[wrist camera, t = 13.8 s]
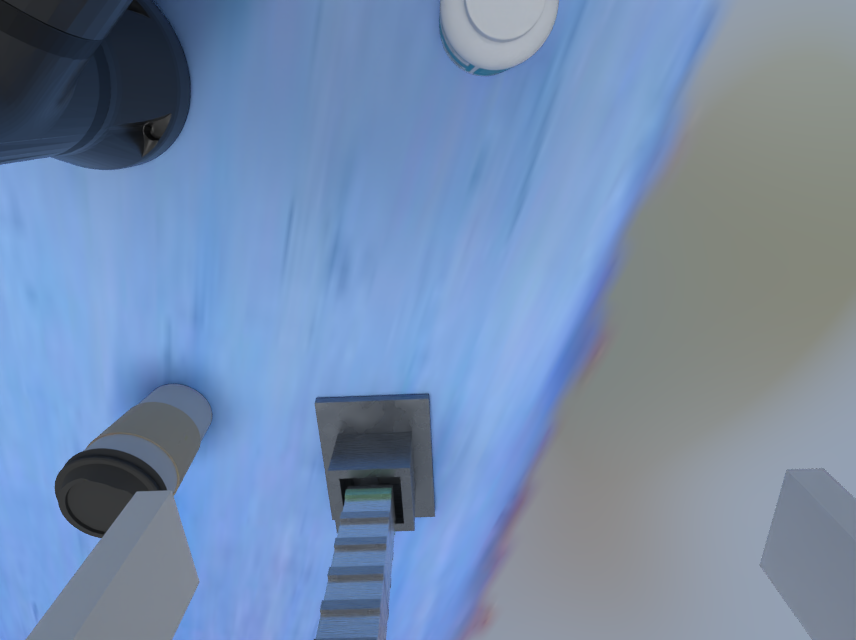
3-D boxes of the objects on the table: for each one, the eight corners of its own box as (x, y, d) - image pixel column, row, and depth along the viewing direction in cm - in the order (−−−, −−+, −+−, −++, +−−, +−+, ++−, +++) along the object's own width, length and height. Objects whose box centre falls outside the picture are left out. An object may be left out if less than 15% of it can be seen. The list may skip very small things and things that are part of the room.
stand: (333, 513, 61) (321, 568, 54) (316, 397, 55) (299, 442, 48) (434, 510, 61) (435, 564, 54) (428, 393, 55) (428, 437, 48)
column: (353, 527, 53) (308, 778, 33) (346, 478, 50) (294, 717, 31) (396, 526, 53) (376, 777, 33) (391, 476, 50) (367, 715, 31)
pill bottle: (544, -12, 40) (596, -61, 28) (512, 88, 43) (546, 83, 31) (453, -43, 40) (464, -109, 27) (427, 60, 42) (425, 44, 30)
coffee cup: (211, 455, 58) (144, 566, 44) (130, 430, 57) (34, 536, 43) (230, 391, 55) (163, 489, 41) (145, 362, 54) (46, 453, 40)
